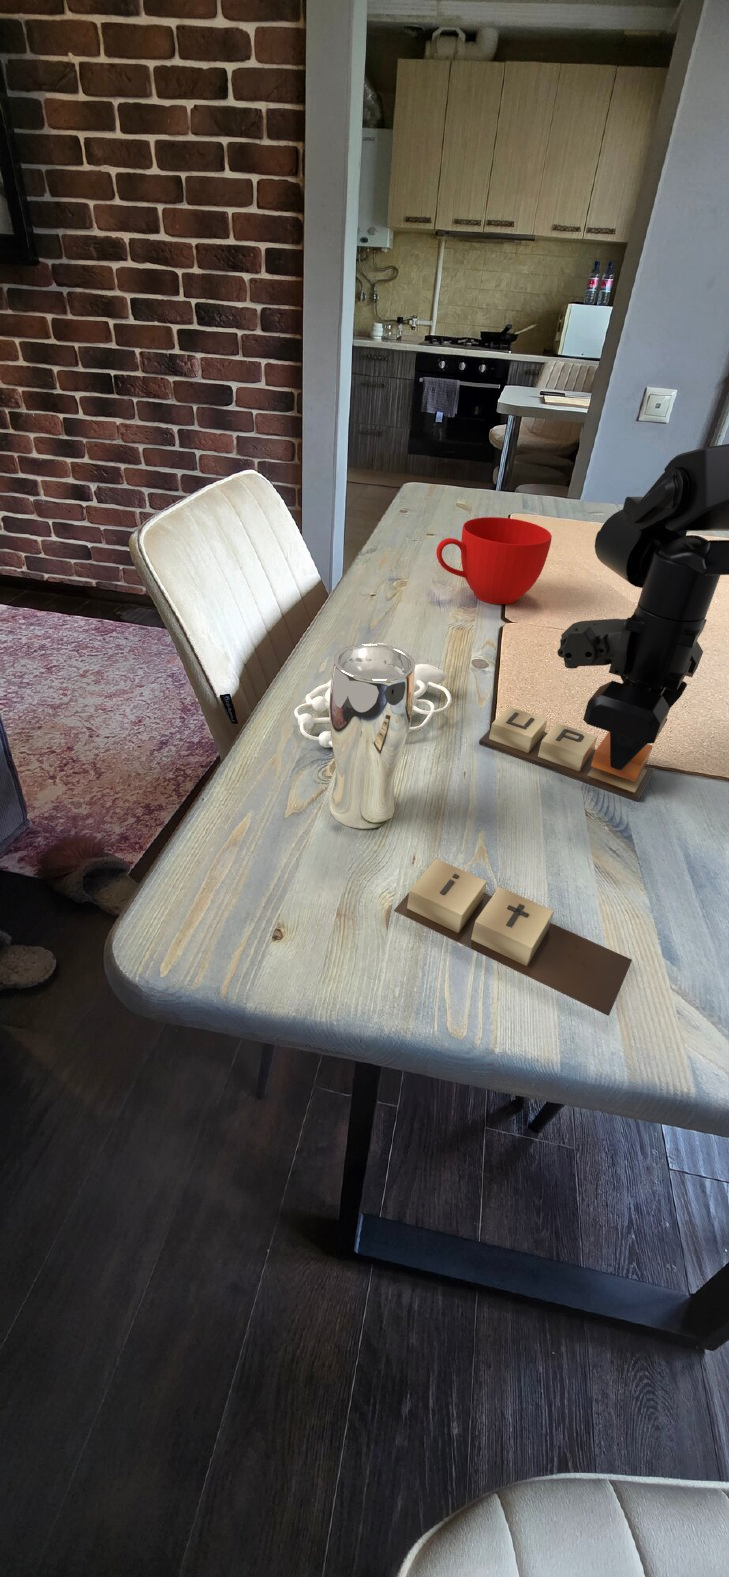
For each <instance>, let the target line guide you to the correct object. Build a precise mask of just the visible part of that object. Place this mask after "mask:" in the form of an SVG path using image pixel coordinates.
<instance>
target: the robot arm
mask: <svg viewBox="0 0 729 1577" xmlns="http://www.w3.org/2000/svg"><path fill="white" fill-rule="evenodd" d="M688 532H729V443H724V444H717V445H710V446H705V447H700V448H697V449H695V450H694V449H693V450H690V451H686V452H682V453H679V454H677V455H675V456H674V457H673V458H672V459H671V460H669V462H668V463H667V464H666V465H665V467H664V469H663V473H662V474H661V475H660V476H659V477H658V479H657V480H656V481H655V482H654V484H653V485H652V486H651V487H650V489H648V491H647V492H646V493H645V495H643V496H626V498H625V499H624V503H623V507H622V509H620V510H618V511H617V512H614V513H613V514H612V515H611V516H610V517H608V518H607V519H606V521H605V522H604V523H603V524H602V525H601V528H600V529H599V530H598V531H597V532H596V536H595V540H594V553H595V555H596V558H597V559H598V560H599V562H600V563H601V564H602V565H604V566H605V567H606V568H608V569H610V570H611V571H612V572H613V573H614V574H616V575H617V576H619V577H621V578H622V579H623V580H624V581H626V582H627V583H629V584H630V585H632V586H633V587H636V588H639V589H641V591H640V595H639V598H638V601H637V605H636V608H635V609H634V611H633V614H632V615H631V616H630V617H627V618H605V619H590V620H581V621H577V622H573V623H572V624H570V626H568V627H567V629H565V630H564V631H563V632H562V633H561V635H560V636H561V638H560V639H559V642H560V645H559V648H558V650H557V652H556V653H557V656H558V657H559V658H562V659H563V662H564V667H565V668H566V669H577V668H579V667H598V666H599V667H600V666H609V665H610V666H609V669H608V673H609V674H612V675H615V676H618V677H620V678H621V679H620V680H621V681H622V682H619V681H616V680H611V681H609V682H607V683H605V684H601V685H600V686H599V687H598V688H597V690H596V691H595V692H594V693H593V695H592V696H591V697H590V698H589V700H588V701H587V704H586V707H585V711H584V715H583V718H582V720H583V721H584V722H585V724H587V725H588V726H591V727H593V728H596V729H601V730H603V731H606V732H610V766H611V767H612V768H614V769H617V770H622V769H623V768H624V767H625V766H626V765H627V764H628V763H629V762H630V761H631V760H632V759H633V758H634V757H635V756H636V755H637V754H638V753H639V751H641V750H642V749H643V748H644V747H645V746H646V745H647V744H649V745H650V744H655V743H656V740H657V738H658V737H659V735H660V734H661V732H662V731H663V728H664V727H665V725H666V723H667V722H668V715H669V713H670V711H671V710H670V709H671V708H672V707H673V706H674V705H675V703H677V701H679V699H680V698H681V696H682V695H683V694H684V692H685V690H686V689H687V687H688V683H687V682H686V681H684V680H685V677H689V678H693V677H694V675H695V673H696V671H697V669H698V667H699V665H700V662H701V659H702V656H703V654H704V651H703V648H702V647H701V645H700V643H699V642H698V639H699V637H700V636H701V634H702V633H703V631H704V629H705V626H706V623H707V621H708V620H707V619H706V617H707V614H708V612H709V609H710V606H711V603H712V600H713V598H714V595H715V592H716V589H717V587H718V584H719V580H720V579H721V576H729V539H710V540H708V539H706V538H705V537H703V536H701V535H695V534H689V535H687V533H688Z"/></svg>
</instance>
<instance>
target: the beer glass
mask: <svg viewBox="0 0 729 1577" xmlns="http://www.w3.org/2000/svg"><path fill="white" fill-rule="evenodd" d="M415 664H416V661H415V659H414V658H413V657H412V655H410V654H409V653H407V652H406V651H404V650H402V649H400V648H398V647H395V646H391V645H388V644H386V645H382V644H376V643H369V642H368V643H357V644H352V645H348V646H345V647H343V648H341V649H339V650H338V651H337V652H336V653H335V654H334V657H333V667H332V673H331V674H332V675H331V679H332V681H331V689H330V701H329V711H328V713H329V714H328V717H329V722H330V723H329V731H330V733H331V740H332V747H331V748H332V753H333V758H334V759H333V760H334V766H335V780H334V786H333V789H332V793H331V796H330V799H329V810H330V813H331V815H332V816H333V818H334V819H335V820H336V821H338V822H339V823H341V824H342V825H344V826H347V827H350V828H353V829H359V830H371V829H376V828H380V827H382V826H384V825H385V824H386V823H387V822H388V821H389V820H390V819H391V818H392V817H393V816H394V815H395V814H396V809H397V805H396V796H395V795H396V793H395V780H396V774H397V771H398V767H399V764H400V761H401V757H402V755H403V752H404V748H405V745H406V743H407V739H408V737H409V736H408V735H409V732H410V731H409V728H410V727H411V724H412V717H413V714H412V711H413V701H414V674H415Z"/></svg>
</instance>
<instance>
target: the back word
mask: <svg viewBox="0 0 729 1577" xmlns="http://www.w3.org/2000/svg"><path fill="white" fill-rule="evenodd" d="M547 723H548V719H547V718H545V717H542V716H538V715H536V714H532V713H530V712H527V711H523V710H521V709H519V708H515V707H513V706H507V707H506V708H505V709H504V710H503V712H501V713H500V715H498V717H497V718H496V719H494V721H493V722H492V723H491V727H490V728H489V730H487V732H485V734H484V735H483V736H481V738H480V739H479V740H478V744H479V745H482V746H484V747H487V748H490V749H493V750H495V751H498V752H501V753H503V754H505V755H509V756H512V757H514V758H516V759H519V760H522V761H526V762H528V763H531V764H533V765H536V766H539V767H541V768H544V769H547V770H550V771H552V772H555V773H558V774H561V775H564V776H565V777H566V776H567V777H568V778H572V779H574V780H577V781H579V782H583V783H585V784H588V785H590V786H594V787H595V788H599V789H602V790H604V791H607V792H610V793H612V794H614V795H617V796H621V797H623V798H625V799H629V800H631V801H633V802H637V803H638V802H639V800H640V798H641V796H642V795H643V793H644V791H645V790H646V787H647V785H648V784H649V782H650V780H651V778H652V777H653V775H654V772H655V769H653V768H650V767H648V766H645V767H644V768H643V770H642V772H641V774H640V775H639V777H638V779H637V781H636V782H633V781H631V780H628V779H625V778H622V777H619V776H617V775H614V774H611V773H608V772H605V771H603V770H600V769H597V768H594V767H592V766H591V764H592V761H593V758H594V755H595V751H596V748H595V747H596V744H597V741H598V736H597V735H595V734H592V733H588V732H586V731H583V730H580V729H578V728H574V727H571V726H568V725H565V724H562V723H559V722H556V723H555V724H554V725H553V727H551V729H550V730H549V731H548V732H547V731H546V728H547Z"/></svg>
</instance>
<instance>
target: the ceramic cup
mask: <svg viewBox="0 0 729 1577" xmlns="http://www.w3.org/2000/svg"><path fill="white" fill-rule="evenodd" d="M461 529H462V530H461V540H459V539H457V538H453V537H447V538H444V539H443V540H441V541H440V542H439V543H438V545H437V547H436V552H435V553H436V559H437V561H438V563H439V565H440V566H441V567H442V568H443V569H444V570H445V571H446V572H448V573H450V574H453V575H454V576H458V577H461V578H463V579H465V582H466V583H467V584H468V587H469V588H470V589H471V591H472V592H473V595H474V596H475V598H477V599H478V600H480V601H482V602H485V603H489V604H494V605H510V604H514V603H516V602H517V601H518V600H519V599H520V598H521V597H523V596H524V595H526V593H528V591H529V590H531V589H532V588H533V586H534V585H535V584H536V582H537V580H539V577H540V576H541V574H542V571H543V569H544V567H545V564H546V561H547V558H548V555H549V552H550V548H551V543H552V539H553V538H552V537H553V536H552V533H551V532H550V531H549V530H548V529H546V528H545V527H543V526H540V525H539V524H536V523H534V522H530V521H527V520H522V519H517V518H510V517H499V516H484V517H483V516H482V517H476V518H471V519H469V520H466V521H465V522H464V523H463V525H462V528H461ZM448 545H455V546H457V547H458V548H459V550H460V561H461V568H462V570H460V569H457V568H454V567H452V566H450V565H448V563H446V561H445V560H444V558H443V551H444V549H445V547H447V546H448Z"/></svg>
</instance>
